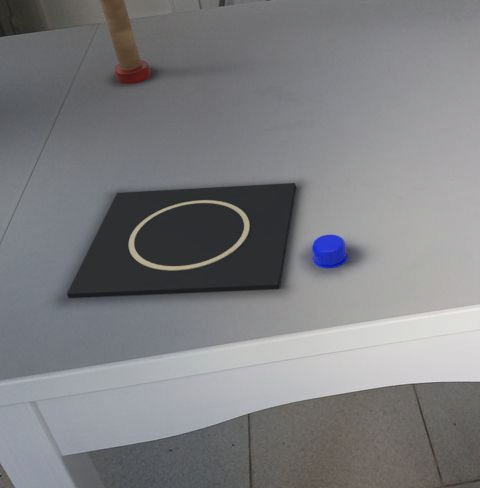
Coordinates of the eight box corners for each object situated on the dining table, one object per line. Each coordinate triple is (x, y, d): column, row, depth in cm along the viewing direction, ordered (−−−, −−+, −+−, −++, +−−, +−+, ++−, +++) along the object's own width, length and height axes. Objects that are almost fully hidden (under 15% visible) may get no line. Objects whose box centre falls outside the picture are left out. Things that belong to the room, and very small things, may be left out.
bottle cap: (307, 265, 62) (304, 249, 61) (322, 246, 64) (320, 229, 63) (339, 272, 61) (337, 255, 60) (353, 252, 63) (351, 235, 62)
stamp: (113, 85, 94) (80, -23, 85) (122, 72, 97) (91, -34, 88) (146, 83, 93) (116, -26, 84) (154, 69, 96) (126, -37, 88)
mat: (68, 299, 61) (65, 292, 61) (118, 197, 73) (116, 191, 72) (279, 290, 60) (278, 283, 59) (296, 187, 71) (295, 181, 71)
